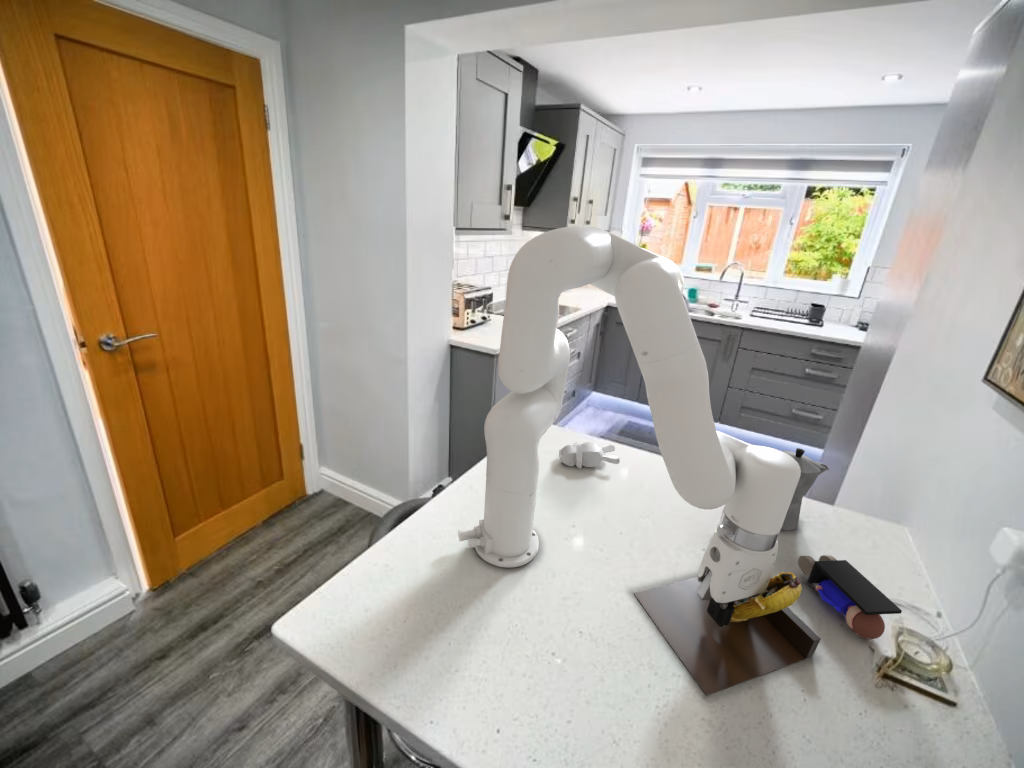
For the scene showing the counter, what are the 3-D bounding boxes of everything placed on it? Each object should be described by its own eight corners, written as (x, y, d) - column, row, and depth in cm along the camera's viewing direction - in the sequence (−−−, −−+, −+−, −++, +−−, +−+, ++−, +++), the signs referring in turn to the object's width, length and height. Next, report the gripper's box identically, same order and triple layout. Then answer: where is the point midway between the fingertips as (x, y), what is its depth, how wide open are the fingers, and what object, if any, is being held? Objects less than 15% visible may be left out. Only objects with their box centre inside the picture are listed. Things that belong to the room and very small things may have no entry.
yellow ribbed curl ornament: (781, 644, 70) (826, 581, 63) (742, 655, 67) (784, 590, 61) (730, 583, 79) (764, 522, 73) (694, 590, 77) (726, 528, 70)
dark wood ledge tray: (705, 695, 61) (712, 676, 60) (633, 593, 77) (637, 576, 75) (812, 656, 68) (821, 638, 66) (726, 569, 83) (731, 553, 82)
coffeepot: (798, 509, 103) (824, 443, 96) (816, 537, 94) (846, 466, 87) (729, 498, 105) (750, 432, 98) (740, 523, 96) (764, 453, 90)
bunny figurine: (557, 438, 118) (613, 436, 118) (558, 455, 120) (612, 453, 120) (561, 457, 109) (621, 455, 109) (561, 474, 111) (620, 472, 111)
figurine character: (788, 580, 84) (854, 647, 70) (797, 546, 82) (868, 608, 67) (820, 579, 85) (892, 645, 70) (830, 546, 83) (906, 606, 68)
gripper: (726, 555, 58) (695, 651, 65) (808, 537, 63) (771, 628, 70) (688, 519, 65) (664, 609, 72) (766, 504, 69) (736, 590, 76)
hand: (717, 618), depth 71 cm, fingers closed
